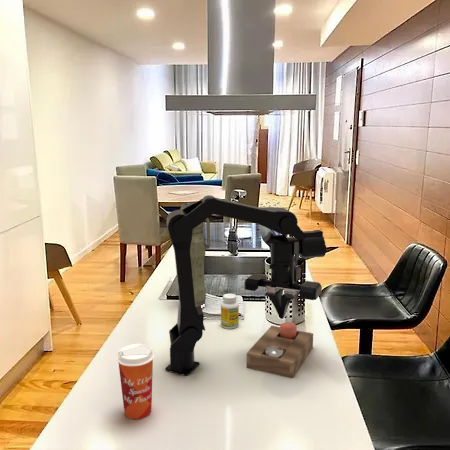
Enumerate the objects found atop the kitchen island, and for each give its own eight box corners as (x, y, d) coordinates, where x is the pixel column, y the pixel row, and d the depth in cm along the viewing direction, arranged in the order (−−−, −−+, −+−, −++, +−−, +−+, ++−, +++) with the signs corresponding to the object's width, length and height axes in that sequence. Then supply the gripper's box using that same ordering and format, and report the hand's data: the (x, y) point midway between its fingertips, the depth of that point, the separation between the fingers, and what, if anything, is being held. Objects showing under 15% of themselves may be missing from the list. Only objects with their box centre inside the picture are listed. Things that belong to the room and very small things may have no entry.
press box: (292, 378, 113) (293, 363, 112) (246, 367, 118) (246, 352, 118) (312, 347, 129) (313, 333, 128) (271, 338, 134) (271, 325, 133)
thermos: (175, 301, 162) (172, 201, 155) (209, 300, 163) (208, 200, 156) (174, 311, 154) (172, 205, 146) (210, 310, 155) (210, 205, 147)
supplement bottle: (229, 320, 147) (229, 291, 145) (242, 325, 143) (242, 295, 141) (217, 325, 143) (217, 295, 141) (229, 331, 139) (229, 300, 137)
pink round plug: (293, 341, 125) (293, 330, 124) (277, 338, 127) (277, 327, 126) (298, 335, 129) (298, 324, 128) (282, 332, 131) (283, 321, 130)
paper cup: (123, 426, 95) (120, 363, 92) (116, 406, 102) (113, 346, 99) (161, 417, 98) (159, 355, 95) (151, 398, 105) (149, 339, 102)
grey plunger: (279, 367, 116) (279, 355, 115) (262, 363, 118) (262, 351, 117) (285, 359, 120) (285, 347, 119) (268, 356, 122) (269, 344, 121)
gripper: (328, 255, 120) (326, 312, 123) (260, 247, 128) (260, 301, 131) (315, 267, 110) (314, 329, 113) (243, 258, 118) (243, 316, 122)
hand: (282, 318), depth 120 cm, fingers closed
